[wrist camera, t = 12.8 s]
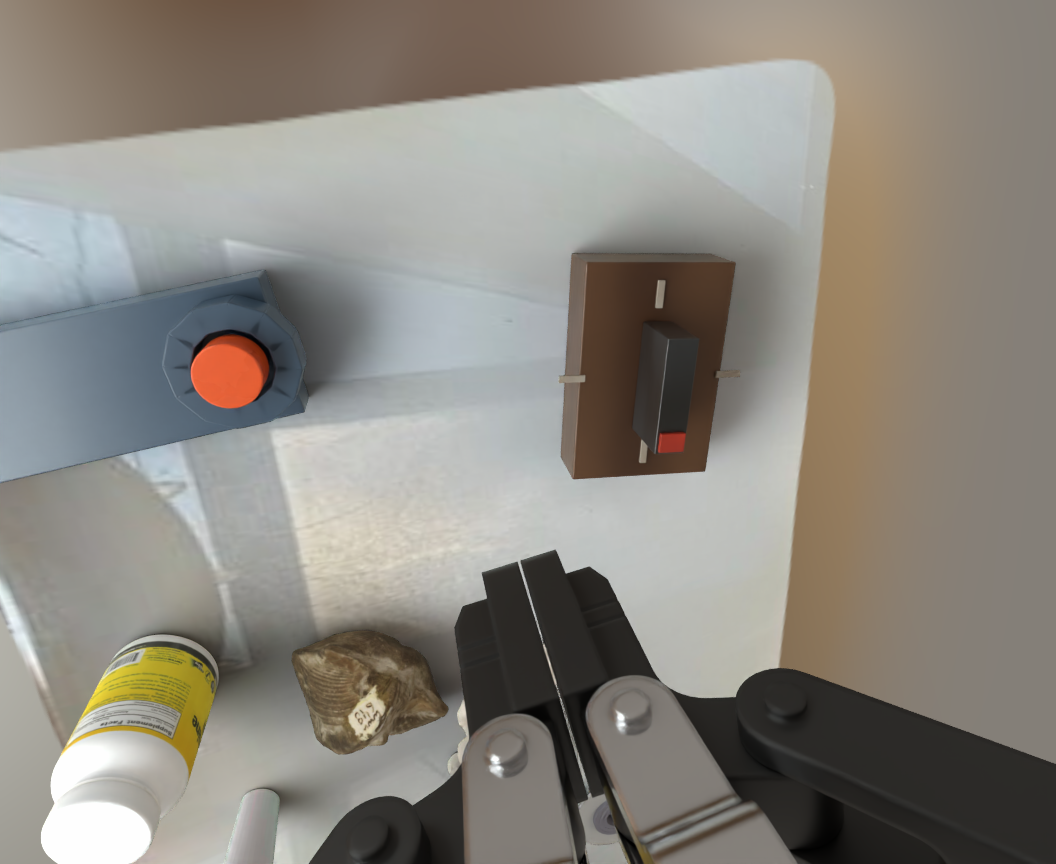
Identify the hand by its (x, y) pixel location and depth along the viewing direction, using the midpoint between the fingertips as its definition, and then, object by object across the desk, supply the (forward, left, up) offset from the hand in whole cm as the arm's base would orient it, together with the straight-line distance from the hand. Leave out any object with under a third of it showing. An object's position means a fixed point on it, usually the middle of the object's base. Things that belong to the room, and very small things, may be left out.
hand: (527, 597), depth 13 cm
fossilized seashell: (+5, +23, -25) cm, 34 cm away
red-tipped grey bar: (-11, +3, -22) cm, 25 cm away
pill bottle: (+17, +22, -25) cm, 37 cm away
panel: (-11, +3, -25) cm, 27 cm away
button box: (+16, +3, -25) cm, 30 cm away
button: (+10, +2, -21) cm, 24 cm away
